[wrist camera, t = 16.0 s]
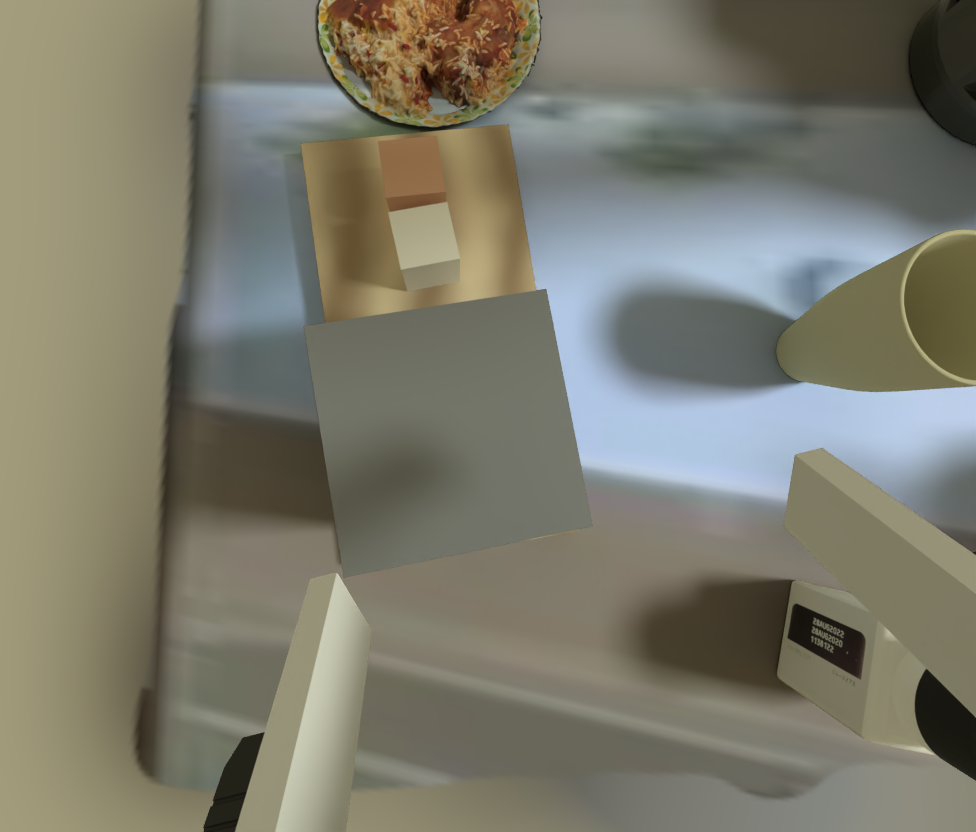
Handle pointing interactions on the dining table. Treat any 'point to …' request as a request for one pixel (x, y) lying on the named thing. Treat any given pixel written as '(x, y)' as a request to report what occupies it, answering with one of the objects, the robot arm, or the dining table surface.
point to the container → (870, 678)
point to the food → (431, 53)
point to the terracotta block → (412, 172)
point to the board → (368, 233)
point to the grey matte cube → (445, 430)
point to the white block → (426, 246)
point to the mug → (893, 324)
